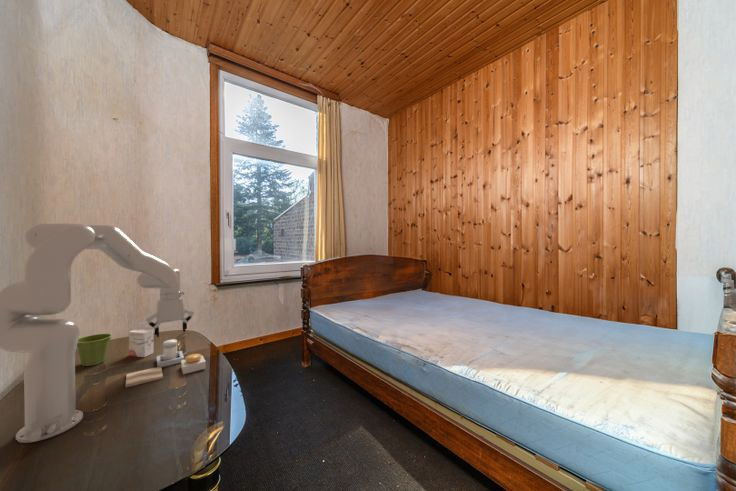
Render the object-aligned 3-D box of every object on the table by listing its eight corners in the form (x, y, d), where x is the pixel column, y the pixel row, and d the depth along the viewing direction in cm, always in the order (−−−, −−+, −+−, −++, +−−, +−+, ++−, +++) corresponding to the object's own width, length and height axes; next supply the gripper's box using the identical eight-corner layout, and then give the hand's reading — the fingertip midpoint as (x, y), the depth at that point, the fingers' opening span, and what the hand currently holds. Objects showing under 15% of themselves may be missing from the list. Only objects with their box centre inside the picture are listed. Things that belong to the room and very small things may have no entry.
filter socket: (184, 361, 120) (184, 357, 120) (157, 368, 114) (157, 363, 114) (181, 354, 128) (181, 350, 128) (156, 360, 121) (156, 356, 121)
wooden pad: (162, 378, 106) (162, 376, 106) (125, 387, 99) (125, 385, 99) (161, 367, 114) (161, 366, 114) (126, 376, 107) (126, 374, 107)
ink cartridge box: (128, 356, 125) (127, 325, 125) (138, 352, 130) (137, 322, 130) (144, 357, 125) (144, 326, 124) (154, 353, 129) (154, 322, 129)
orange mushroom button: (202, 366, 114) (201, 356, 114) (186, 370, 111) (186, 360, 111) (199, 362, 119) (199, 352, 119) (184, 365, 115) (184, 356, 115)
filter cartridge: (177, 361, 121) (177, 341, 120) (163, 364, 117) (163, 344, 117) (176, 357, 125) (176, 338, 124) (162, 360, 121) (162, 341, 121)
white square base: (205, 368, 114) (205, 361, 114) (183, 374, 109) (183, 367, 109) (202, 361, 120) (202, 355, 120) (180, 367, 115) (180, 360, 115)
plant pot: (117, 360, 121) (117, 335, 121) (81, 371, 111) (81, 344, 111) (105, 355, 126) (104, 331, 126) (69, 365, 116) (68, 339, 116)
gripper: (191, 292, 129) (192, 327, 130) (145, 297, 118) (146, 335, 119) (194, 294, 123) (195, 331, 124) (145, 300, 112) (146, 340, 113)
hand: (171, 333), depth 121 cm, fingers open, 9 cm apart
